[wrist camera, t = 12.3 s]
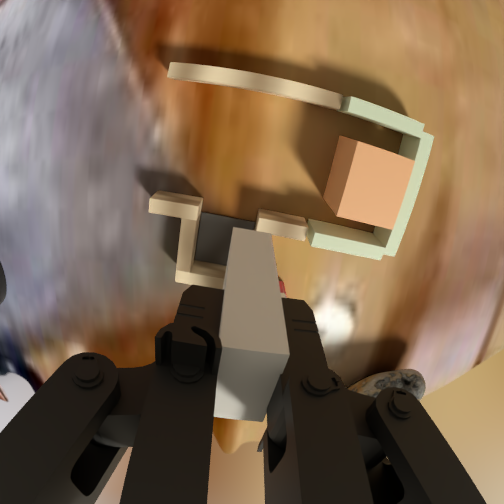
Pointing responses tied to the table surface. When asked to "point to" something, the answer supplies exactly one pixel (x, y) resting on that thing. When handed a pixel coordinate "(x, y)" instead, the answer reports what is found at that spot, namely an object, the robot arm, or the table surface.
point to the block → (367, 183)
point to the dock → (416, 149)
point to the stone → (391, 383)
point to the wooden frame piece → (189, 207)
